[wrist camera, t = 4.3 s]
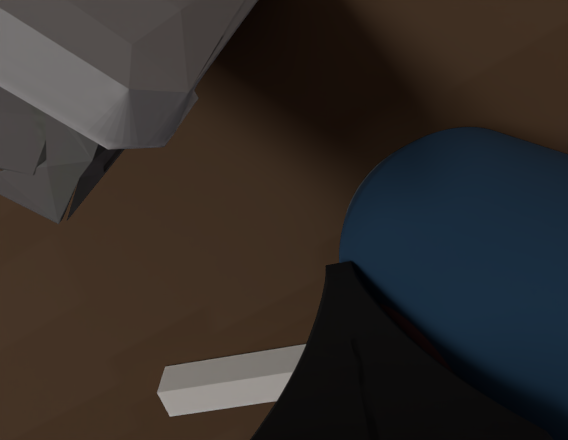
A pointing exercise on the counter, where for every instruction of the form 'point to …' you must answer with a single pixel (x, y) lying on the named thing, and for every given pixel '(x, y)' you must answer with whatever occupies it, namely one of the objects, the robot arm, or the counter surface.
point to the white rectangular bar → (228, 381)
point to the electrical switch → (97, 86)
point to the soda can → (473, 261)
